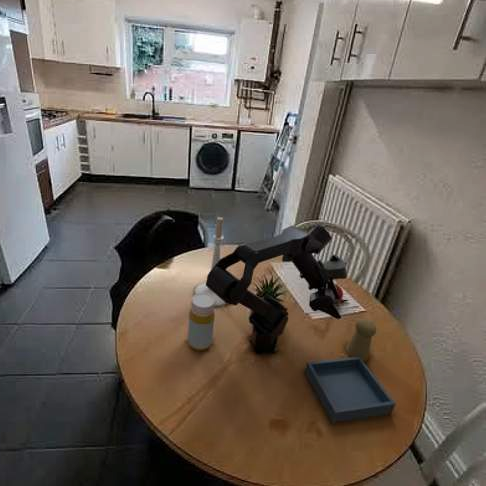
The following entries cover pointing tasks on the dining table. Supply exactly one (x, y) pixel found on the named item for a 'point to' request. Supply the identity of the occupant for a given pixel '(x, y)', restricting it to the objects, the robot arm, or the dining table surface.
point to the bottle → (201, 321)
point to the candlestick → (214, 263)
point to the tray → (348, 389)
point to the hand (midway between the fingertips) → (339, 308)
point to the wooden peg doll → (361, 339)
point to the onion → (339, 292)
